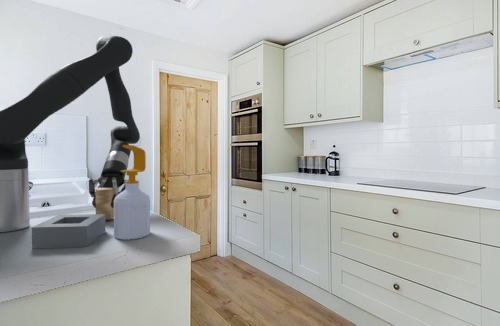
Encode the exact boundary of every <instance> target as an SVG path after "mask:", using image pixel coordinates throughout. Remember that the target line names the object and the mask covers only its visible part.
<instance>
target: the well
mask: <svg viewBox="0 0 500 326" xmlns="http://www.w3.org/2000/svg"><path fill="white" fill-rule="evenodd" d="M105 232H106V220H105V214H96V213H93V214H92V213H91V214H89V213H88V214H58V215H56V216H53V217H52V218H49V219H46V220H44V221H43V222H42V221H41V222H40V223H38V224H35V225H33V226H31V249H34V250H35V249H53V248H55V249H58V248H59V249H60V248H84V247H85V248H86V247H87V248H88V247H89V246H90V245H91V244H92V243H93V242H95V241H96V240H98V238H100V237H101V236H102V235H103V234H105Z"/></svg>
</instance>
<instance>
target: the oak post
mask: <svg viewBox="0 0 500 326" xmlns="http://www.w3.org/2000/svg"><path fill="white" fill-rule="evenodd" d="M114 191H115V188H99V189H98V188H97V189H96V188H95V192H96V208H95V214H105V221H106V220H107V221H108V220H112V219H114V208H112V207H111V202H112V198H113V195H114Z"/></svg>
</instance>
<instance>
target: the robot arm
mask: <svg viewBox="0 0 500 326" xmlns="http://www.w3.org/2000/svg"><path fill="white" fill-rule="evenodd" d="M95 49H96V52H94V53H92V55H89V56H87V57H84V58H81V59H78V60H76V61H73V62H71V63H69V64H66V65H64V66H63V67H61V68H59V69H58V70H55V72H53V73H52V74H50V75H49V76H48V77H45V79H44V80H43V81H41V82H40V83H39V84H38V85H37V86H36V87H35V88H34V89H33V90H32V91H31V92H30V93H29V94H27V95H26V96H25V97H23V98H22V99H21V100H18V101H17V102H15V103H14V104H12V105H10V106H8V107H6V108H4V109H2V110H0V233H7V232H13V231H19V230H22V229H26V228H28V227H29V226H31V224H30V223H31V222H30V221H31V218H30V186H29V185H30V184H29V181H30V179H29V178H30V177H29V159H28V156H27V153H26V139H27V137H29V135H31V134H32V133H33V132H34V131H35V129H37V127H39V126H40V125H41V124H42V123H43V122H44V121H45V120H46V119H48V118H49V117H50V116H52V115H53V114H55V113H57V112H58V111H60V110H62V109H64V108H65V107H66V106H68V105H70V104H71V103H72V102H74V101H75V100H77V99H78V98H80V96H82V95H84V93H86V92H87V91H88V90H89V89H90V88H92V87H93V86H94V85H96V84H97V83H99V81H101V80H102V79H103V78H104V80H105V83H106V87H107V91H108V95H109V100H110V106H111V113H112V118H113V120H115V121H116V122H120V123H124V124H125V125H124V126H123V125H119V126H114V127H112V129H111V130H110V141H111V142H110V149H109V152H108V155H107V157H106V158H105V161H104V164H103V167H102V169H101V173H100V176H99V177H98V179H93V178H89V179H88V194H90V197H91V198H92V201H91V205H92V206H93V208H95V209H96V187H97V189H99V188H115V191H114V195H113V198H112V202H111V207H112V208H114V199H115V197H116V196H117V195H118V194H119V193H121V192H123V191H124V190H125V189H126V188H125V183H126V181H129V178H128V179H125V178H126V176H127V172H121V170H128V168H129V159H130V156H131V153H132V150H129V149H127V148H124V147H122V146H123V145H135V144H137V143H138V142H139V140H140V137H141V136H140V135H141V134H140V131H139V128H138V126H137V124H136V122H135V119H134V115H133V109H132V102H131V97H130V94H129V92H128V90H127V88H126V85H125V84H124V82H123V79H122V75H121V72H120V67H122V66H123V65H125V64H127V63H128V62H129V61H130V60H131V59H132V56H133V46H132V43H131V42H130V41H129V40H128V39H127V38H125V37H122V36H119V35H105V36H101V37H99V38H98V40H97V42H96V44H95ZM98 184H99V185H98ZM97 185H98V186H97ZM120 187H122V188H121V190H120Z"/></svg>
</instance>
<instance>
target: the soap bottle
mask: <svg viewBox="0 0 500 326" xmlns="http://www.w3.org/2000/svg"><path fill="white" fill-rule="evenodd" d="M122 147H124V148H127V149H129V150H131V152H132V154H133V167H132V169H127V170H121V172H126V176H128V179H129V181H126V183H125V188H126V189H125V190H124V191H123V192H121V193H119V194H118V195H117V196H116V197H115V199H114V218H113V236H114V238H115V239H118V240H124V241H125V240H126V241H128V240H129V241H132V240H138V238H139V239H142V238H145V237H147V236H148V235H150V232H151V198H150V196H149V194H147V193H146V192H145V191H142V190H141V189H140V188H139V187H140V183H139V181H140V180H138V179H137V180H136V176H138V173H142V172H144V171H145V170H146V168H147V167H146V166H147V165H146V162H147V161H146V151H145V149H143V148H141V147H138V146H136V145H134V144H129V145H123V146H122ZM131 239H132V240H131Z"/></svg>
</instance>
